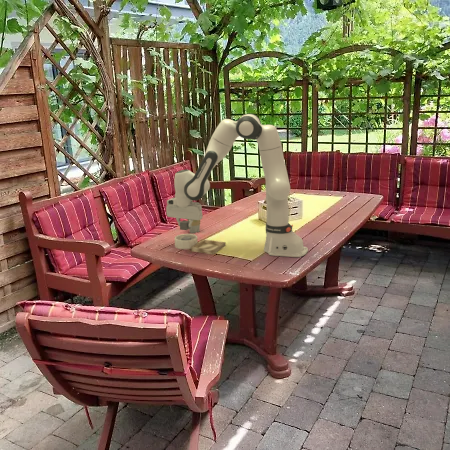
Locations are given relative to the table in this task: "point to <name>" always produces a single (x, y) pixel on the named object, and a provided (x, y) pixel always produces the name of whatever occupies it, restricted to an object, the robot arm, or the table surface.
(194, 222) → the coffee cup
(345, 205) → the table surface
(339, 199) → the table surface
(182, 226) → the charcoal cube
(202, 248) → the parts tray
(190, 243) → the bowl
